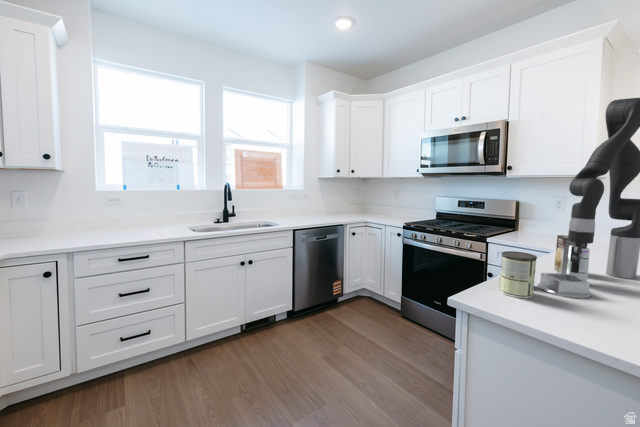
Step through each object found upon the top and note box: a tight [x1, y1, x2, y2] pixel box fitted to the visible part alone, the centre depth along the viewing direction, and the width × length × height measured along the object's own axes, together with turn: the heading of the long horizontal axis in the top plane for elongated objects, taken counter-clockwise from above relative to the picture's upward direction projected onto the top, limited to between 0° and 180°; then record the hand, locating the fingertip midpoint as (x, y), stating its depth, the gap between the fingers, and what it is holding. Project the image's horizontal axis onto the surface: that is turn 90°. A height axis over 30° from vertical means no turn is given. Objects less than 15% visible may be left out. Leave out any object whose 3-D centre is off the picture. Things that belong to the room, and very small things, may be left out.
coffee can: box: [499, 250, 538, 299], centre depth 106 cm, size 10×10×14 cm
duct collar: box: [537, 272, 591, 299], centre depth 110 cm, size 15×15×5 cm
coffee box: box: [553, 234, 575, 274], centre depth 132 cm, size 9×6×16 cm
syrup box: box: [567, 246, 591, 282], centre depth 118 cm, size 6×6×14 cm
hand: (577, 270), depth 118 cm, fingers open, 8 cm apart
